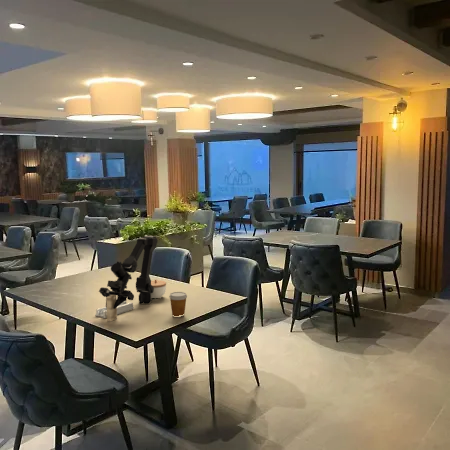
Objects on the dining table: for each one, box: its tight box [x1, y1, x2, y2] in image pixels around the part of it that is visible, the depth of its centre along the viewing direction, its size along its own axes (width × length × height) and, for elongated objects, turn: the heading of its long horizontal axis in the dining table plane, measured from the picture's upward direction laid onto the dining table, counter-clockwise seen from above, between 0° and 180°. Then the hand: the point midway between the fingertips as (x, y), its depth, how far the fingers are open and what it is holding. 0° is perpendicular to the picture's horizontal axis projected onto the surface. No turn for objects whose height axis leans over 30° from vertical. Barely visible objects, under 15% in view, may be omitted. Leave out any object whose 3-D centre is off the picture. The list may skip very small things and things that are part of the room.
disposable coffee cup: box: [168, 291, 188, 316], centre depth 247 cm, size 10×10×12 cm
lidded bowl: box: [151, 279, 167, 299], centre depth 281 cm, size 13×13×11 cm
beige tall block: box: [105, 295, 118, 322], centre depth 240 cm, size 5×3×12 cm, turn 158°
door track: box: [95, 301, 135, 319], centre depth 253 cm, size 20×8×4 cm, turn 144°
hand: (110, 307), depth 239 cm, fingers open, 4 cm apart
